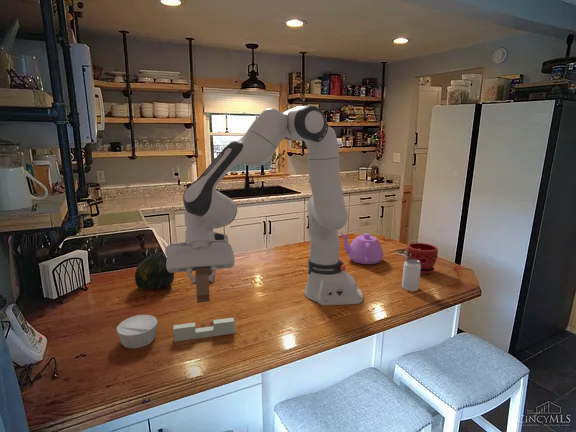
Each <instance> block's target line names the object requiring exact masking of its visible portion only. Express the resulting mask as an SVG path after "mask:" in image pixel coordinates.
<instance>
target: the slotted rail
mask: <svg viewBox="0 0 576 432" xmlns="http://www.w3.org/2000/svg"><path fill="white" fill-rule="evenodd" d="M212 322H213V325H212V326H205V327H198V328H197V327H196V322H188V323H182V324H173V328H172V329H173V332H172V333H173V342H174V343H176V342H183V341H188V340H189V341H190V340H198V339H204V338H211V337H219V336H225V335H226V336H227V335H233V334H235V333H236V332H235V331H236V329H235V318H234V317H227V318H220V319H213V321H212Z"/></svg>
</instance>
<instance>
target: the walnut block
mask: <svg viewBox="0 0 576 432" xmlns="http://www.w3.org/2000/svg"><path fill="white" fill-rule="evenodd" d="M195 274H196V275H195V277H196V284H195V285H196V290H195V291H196V302H197V304H200V303H207V302H209V303H210V301H211V300H210V283H209V274H208V267H201V268H196V271H195Z"/></svg>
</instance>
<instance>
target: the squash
mask: <svg viewBox="0 0 576 432" xmlns="http://www.w3.org/2000/svg"><path fill="white" fill-rule="evenodd" d="M166 262H167V256H166V254H164V253H163V252H156V253H154V254H152V255H149V256H148V257H146V258H145V259H143V260H140V262H139V263H138V265H137V267H136V269H135V273H134V281H135V284H136V287H138V288H139V289H140V290H146V291H152V290H154V289H155V290H159V289H162V288H165V287H169V286H171V285H172V284H173V282H174V278H175V273H169V272H168V271H167V268H166Z"/></svg>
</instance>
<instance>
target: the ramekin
mask: <svg viewBox="0 0 576 432" xmlns="http://www.w3.org/2000/svg"><path fill="white" fill-rule="evenodd" d="M158 325H159V323H158V319H157V317H156V316H153V315H150V314H137V315H134V316H131V317H129V318H126V319H124V320H122V321H121V322H120V323H119V324H118V325H117V326H116V334H117V335H118V338H119V340H120V343H121V345H122V346H124V347H125V348H127V349H139V348H144V347H146V346H148V345H150V344H151V343H152V342H153V341H154V339H155V338H156V337H157V329H158V328H157V327H158Z"/></svg>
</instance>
